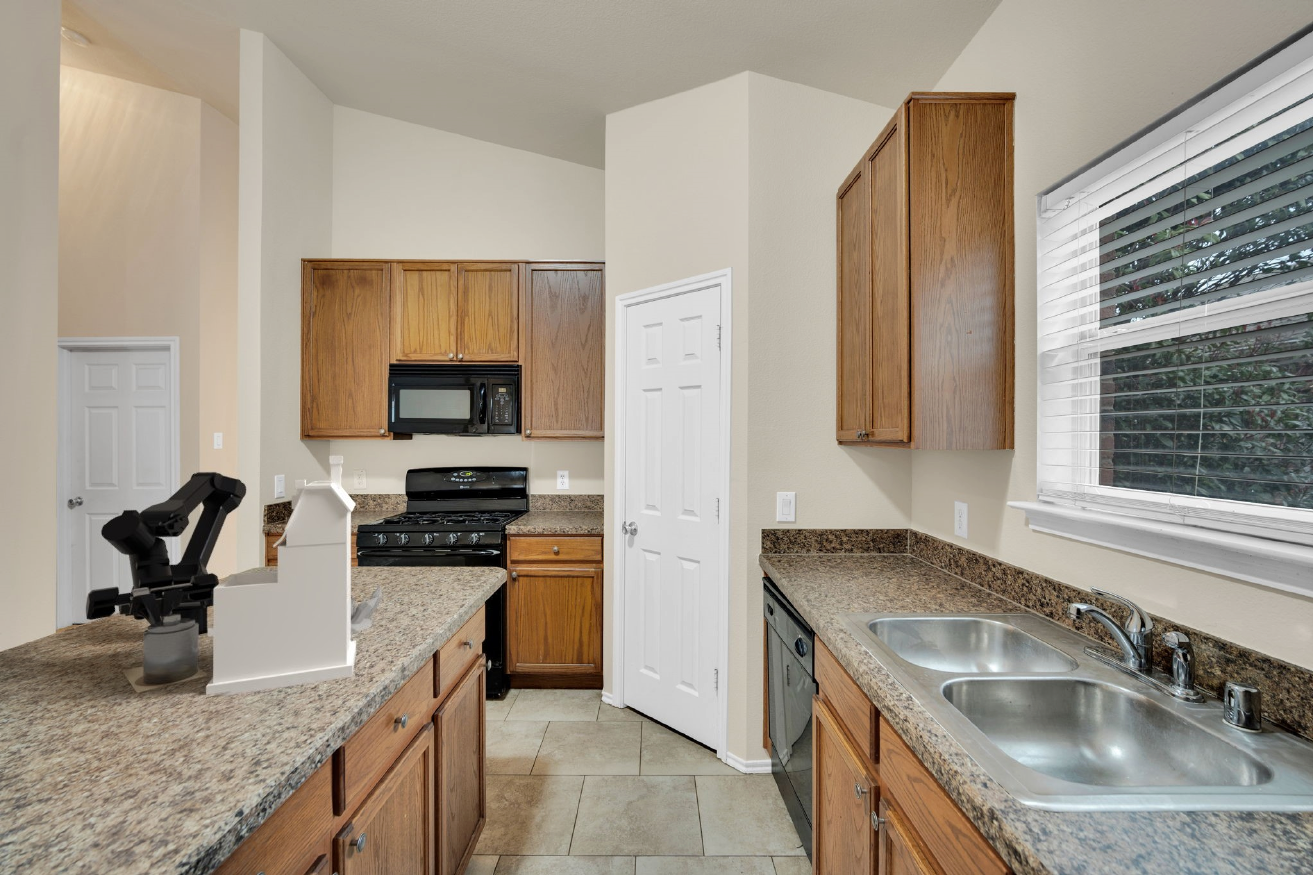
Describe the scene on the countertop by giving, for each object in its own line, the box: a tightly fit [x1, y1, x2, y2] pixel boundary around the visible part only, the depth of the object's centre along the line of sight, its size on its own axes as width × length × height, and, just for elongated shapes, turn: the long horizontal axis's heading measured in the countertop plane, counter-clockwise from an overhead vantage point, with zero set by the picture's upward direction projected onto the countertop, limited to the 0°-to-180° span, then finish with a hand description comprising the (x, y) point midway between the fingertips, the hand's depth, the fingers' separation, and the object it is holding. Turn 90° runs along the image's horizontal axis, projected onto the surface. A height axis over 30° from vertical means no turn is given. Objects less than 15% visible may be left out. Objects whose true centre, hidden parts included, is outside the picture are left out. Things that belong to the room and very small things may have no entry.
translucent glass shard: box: [351, 584, 383, 633], centre depth 136 cm, size 10×13×15 cm
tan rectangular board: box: [121, 665, 208, 693], centre depth 107 cm, size 10×14×1 cm, turn 50°
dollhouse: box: [205, 455, 357, 699], centre depth 109 cm, size 22×15×40 cm
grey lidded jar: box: [142, 614, 199, 685], centre depth 106 cm, size 8×8×11 cm
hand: (162, 633), depth 108 cm, fingers closed
